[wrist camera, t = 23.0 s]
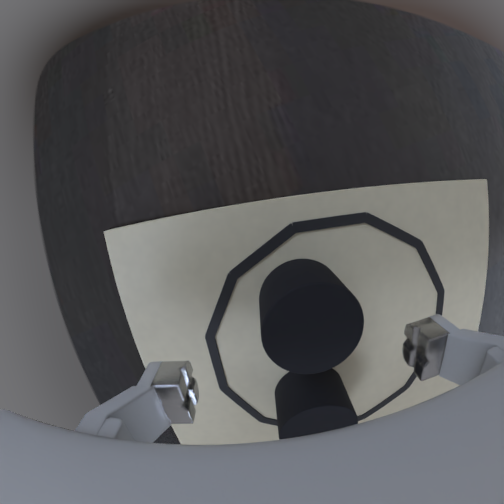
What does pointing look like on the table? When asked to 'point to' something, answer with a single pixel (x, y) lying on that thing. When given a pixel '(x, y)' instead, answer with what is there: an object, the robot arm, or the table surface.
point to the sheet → (302, 247)
